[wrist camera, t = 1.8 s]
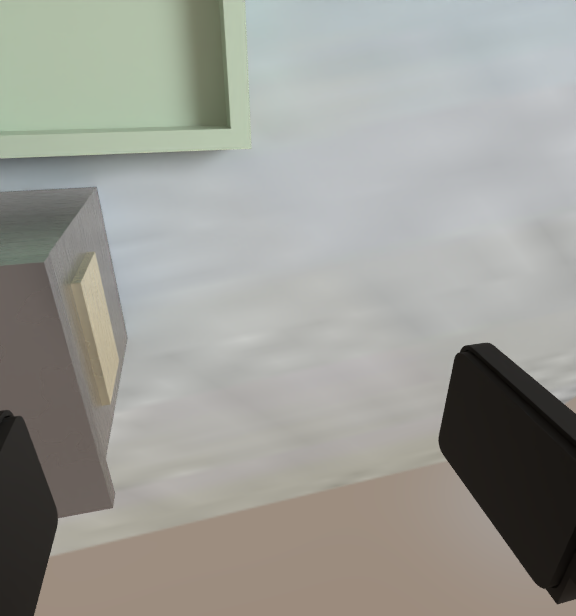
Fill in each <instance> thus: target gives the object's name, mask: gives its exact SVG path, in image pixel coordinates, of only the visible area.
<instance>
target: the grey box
mask: <svg viewBox="0 0 576 616" xmlns="http://www.w3.org/2000/svg"><path fill="white" fill-rule="evenodd" d="M126 344H127V333H126V328H125V324H124V319H123V314H122V309H121V304H120V299H119V294H118V289H117V284H116V280H115V275H114V270H113V265H112V260H111V255H110V250H109V245H108V241H107V236H106V231H105V226H104V221H103V216H102V211H101V206H100V201H99V197H98V192H97V187H89V188H70V189H51V190H32V191H13V192H0V411H2V410H10V411H11V412H12V413H13V415H14V416H22V417H23V419H24V421H25V423H26V426H27V429H28V431H29V434H30V437H31V440H32V442H33V445H34V448H35V450H36V453H37V456H38V459H39V461H40V464H41V467H42V469H43V472H44V475H45V478H46V480H47V483H48V486H49V488H50V491H51V494H52V497H53V499H54V502H55V505H56V508H57V513H58V518H62V517H67V516H72V515H78V514H83V513H88V512H94V511H99V510H104V509H110V508H113V504H114V497H115V491H114V488H113V484H112V480H111V477H110V473H109V469H108V466H107V462H106V454H107V449H108V443H109V438H110V432H111V426H112V421H113V415H114V410H115V404H116V399H117V393H118V388H119V382H120V377H121V371H122V366H123V360H124V355H125V349H126Z"/></svg>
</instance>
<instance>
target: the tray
mask: <svg viewBox="0 0 576 616" xmlns="http://www.w3.org/2000/svg"><path fill="white" fill-rule="evenodd" d="M231 149H251V130H250V107H249V84H248V60H247V37H246V14H245V0H0V158H26V157H51V156H77V155H103V154H128V153H154V152H179V151H205V150H231Z"/></svg>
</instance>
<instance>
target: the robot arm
mask: <svg viewBox="0 0 576 616" xmlns="http://www.w3.org/2000/svg"><path fill="white" fill-rule="evenodd" d="M439 446H440V449H441V452H442V453H443V455H444V456H445V458H446V459H447V461H448V462H449V463H450V465H451V466H452V468H453V469H454V470H455V472H456V473H457V475H458V476H459V477H460V479H461V480H462V482H463V483H464V484H465V486H466V487H467V489H468V490H469V491H470V493H471V494H472V496H473V497H474V498H475V500H476V501H477V502H478V504H479V505H480V507H481V508H482V510H483V511H484V512H485V514H486V515H487V517H488V518H489V519H490V521H491V522H492V524H493V525H494V526H495V528H496V529H497V530H498V532H499V533H500V535H501V536H502V537H503V539H504V540H505V542H506V543H507V544H508V546H509V547H510V549H511V550H512V551H513V553H514V554H515V556H516V557H517V558H518V560H519V561H520V563H521V564H522V565H523V567H524V568H525V570H526V571H527V572H528V574H529V575H530V577H531V578H532V579H533V581H534V582H535V583H536V584H537V585H538V586H540V587H541V588H543V589H545V588H546V590H547V591H548V592H549V594H550V595H551V597H552V598H553V599H554V601H555V602H556V603H557V604H560V603H564V602H567V601H571V600H574V599H576V414H575V413H574V412H573V411H572V410H570V409H569V408H568V407H567V406H566V405H564V404H563V403H562V402H561V401H560V400H558V399H557V398H556V397H555V396H554V395H552V394H551V393H550V392H549V391H548V390H546V389H545V388H544V387H543V386H542V385H540V384H539V383H538V382H537V381H536V380H534V379H533V378H532V377H531V376H530V375H528V374H527V373H526V372H525V371H524V370H522V369H521V368H520V367H519V366H518V365H516V364H515V363H514V362H513V361H512V360H510V359H509V358H508V357H507V356H506V355H504V354H503V353H502V352H501V351H500V350H498V349H497V348H496V347H495V346H494V345H492V344H490V343H481V344H473V345H466V346H464V347H463V348H462V349H461V351H460V353H457V354H456V356H455V359H454V364H453V369H452V374H451V379H450V384H449V389H448V393H447V398H446V403H445V408H444V413H443V418H442V423H441V428H440V433H439ZM57 523H58V513H57V508H56V505H55V502H54V499H53V497H52V494H51V491H50V488H49V486H48V483H47V480H46V478H45V475H44V472H43V469H42V467H41V464H40V461H39V459H38V456H37V453H36V450H35V448H34V445H33V442H32V440H31V437H30V434H29V431H28V429H27V426H26V423H25V421H24V419H23V417H22V416H14V415H13V413H12V412H11V411H10V410H2V411H0V616H34V613H35V609H36V605H37V601H38V597H39V594H40V590H41V586H42V582H43V578H44V575H45V570H46V567H47V563H48V559H49V555H50V552H51V548H52V544H53V540H54V536H55V533H56V529H57Z"/></svg>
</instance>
